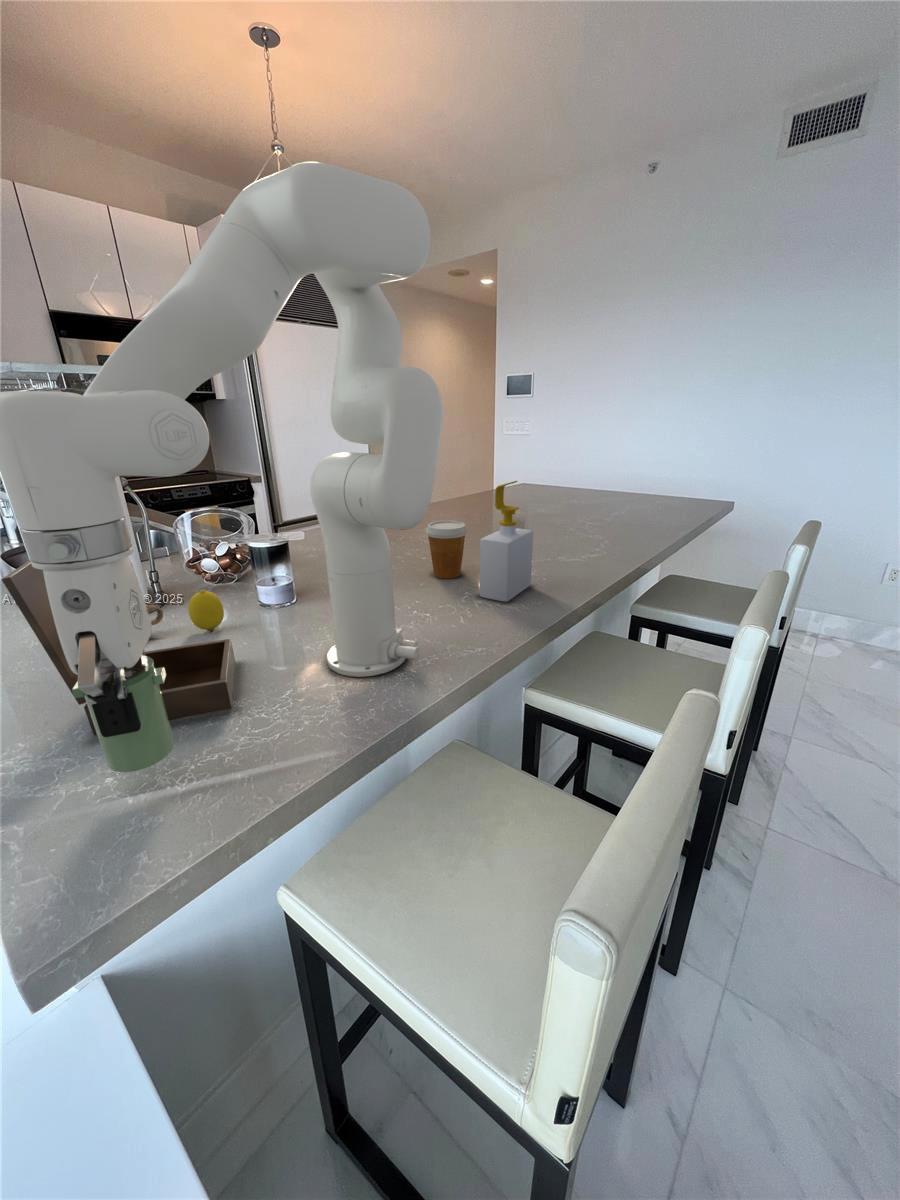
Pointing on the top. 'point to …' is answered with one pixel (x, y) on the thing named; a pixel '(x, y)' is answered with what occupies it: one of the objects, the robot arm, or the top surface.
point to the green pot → (155, 726)
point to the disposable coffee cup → (446, 547)
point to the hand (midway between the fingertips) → (130, 711)
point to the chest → (194, 678)
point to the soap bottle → (505, 556)
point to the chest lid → (40, 616)
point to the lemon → (206, 610)
